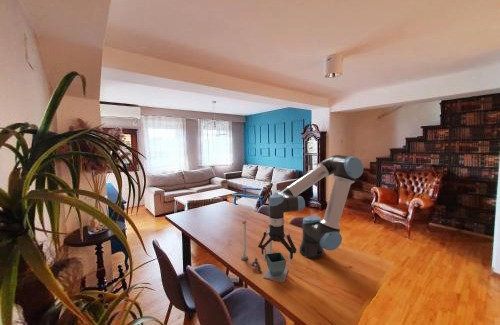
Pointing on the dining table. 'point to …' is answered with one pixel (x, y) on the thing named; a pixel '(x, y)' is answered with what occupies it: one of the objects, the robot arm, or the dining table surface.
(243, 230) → the post
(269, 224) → the post
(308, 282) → the dining table surface
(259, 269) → the bent rail
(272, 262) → the flower pot
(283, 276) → the tile
